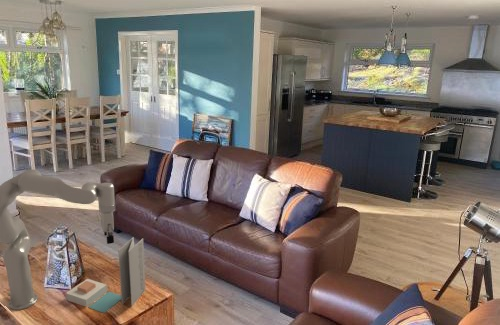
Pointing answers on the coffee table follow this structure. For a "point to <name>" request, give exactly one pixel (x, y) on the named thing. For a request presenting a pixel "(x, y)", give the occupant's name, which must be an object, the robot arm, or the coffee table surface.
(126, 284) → the brochure
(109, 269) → the coffee table surface
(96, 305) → the mat
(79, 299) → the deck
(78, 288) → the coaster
